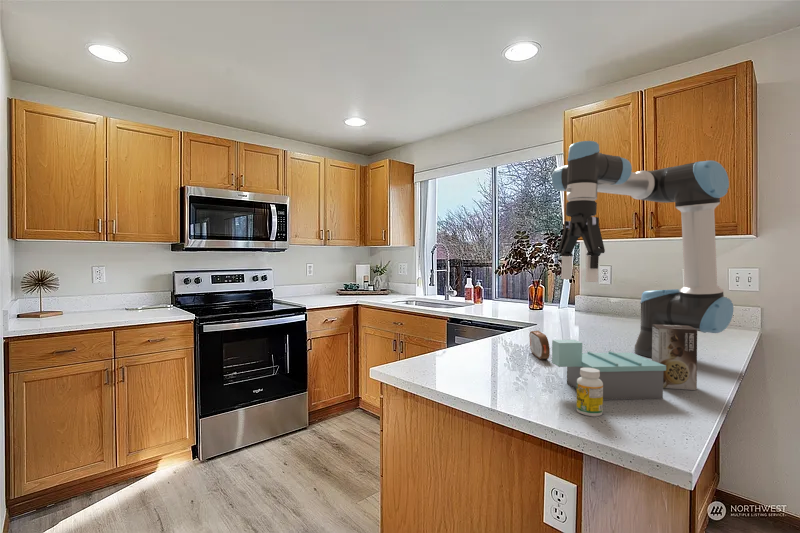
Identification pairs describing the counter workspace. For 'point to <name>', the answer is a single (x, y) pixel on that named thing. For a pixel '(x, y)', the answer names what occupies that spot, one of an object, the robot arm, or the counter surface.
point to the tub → (625, 384)
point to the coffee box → (676, 355)
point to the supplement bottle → (589, 392)
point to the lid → (599, 359)
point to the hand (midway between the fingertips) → (578, 280)
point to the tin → (539, 344)
